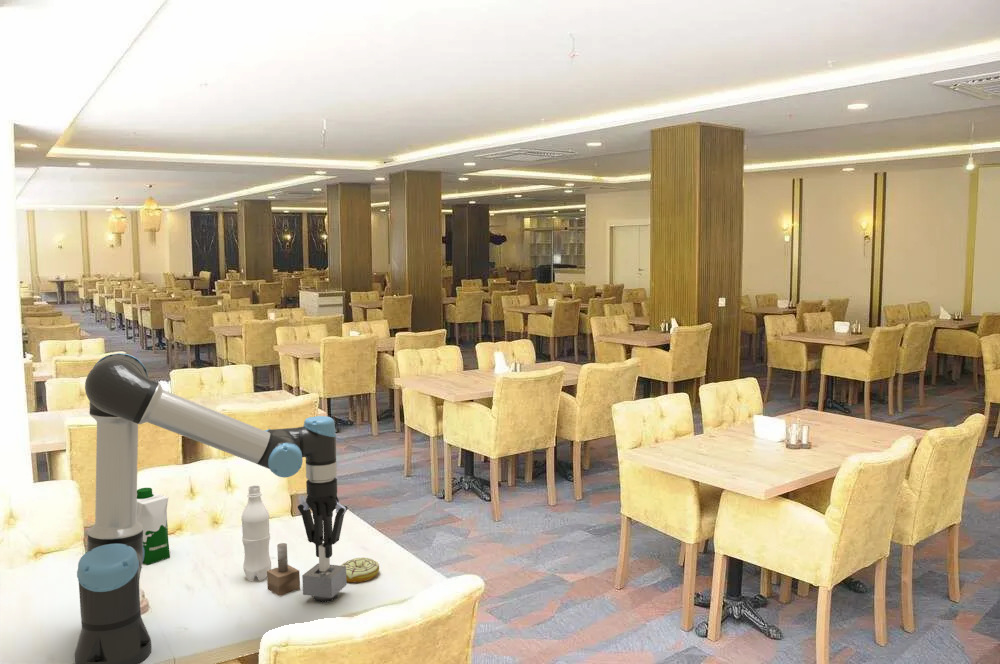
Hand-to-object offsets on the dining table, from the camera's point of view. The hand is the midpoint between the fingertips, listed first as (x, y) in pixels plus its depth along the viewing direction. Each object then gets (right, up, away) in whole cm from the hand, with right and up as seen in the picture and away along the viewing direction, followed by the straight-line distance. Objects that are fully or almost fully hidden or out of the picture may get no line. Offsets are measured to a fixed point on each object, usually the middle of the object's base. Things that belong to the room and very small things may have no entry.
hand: (324, 569), depth 204 cm
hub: (0, -7, +1) cm, 7 cm away
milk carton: (-55, -5, +28) cm, 62 cm away
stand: (-12, -7, +6) cm, 15 cm away
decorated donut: (+6, -6, +14) cm, 17 cm away
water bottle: (-21, -6, +14) cm, 26 cm away
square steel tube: (0, -5, +1) cm, 5 cm away
